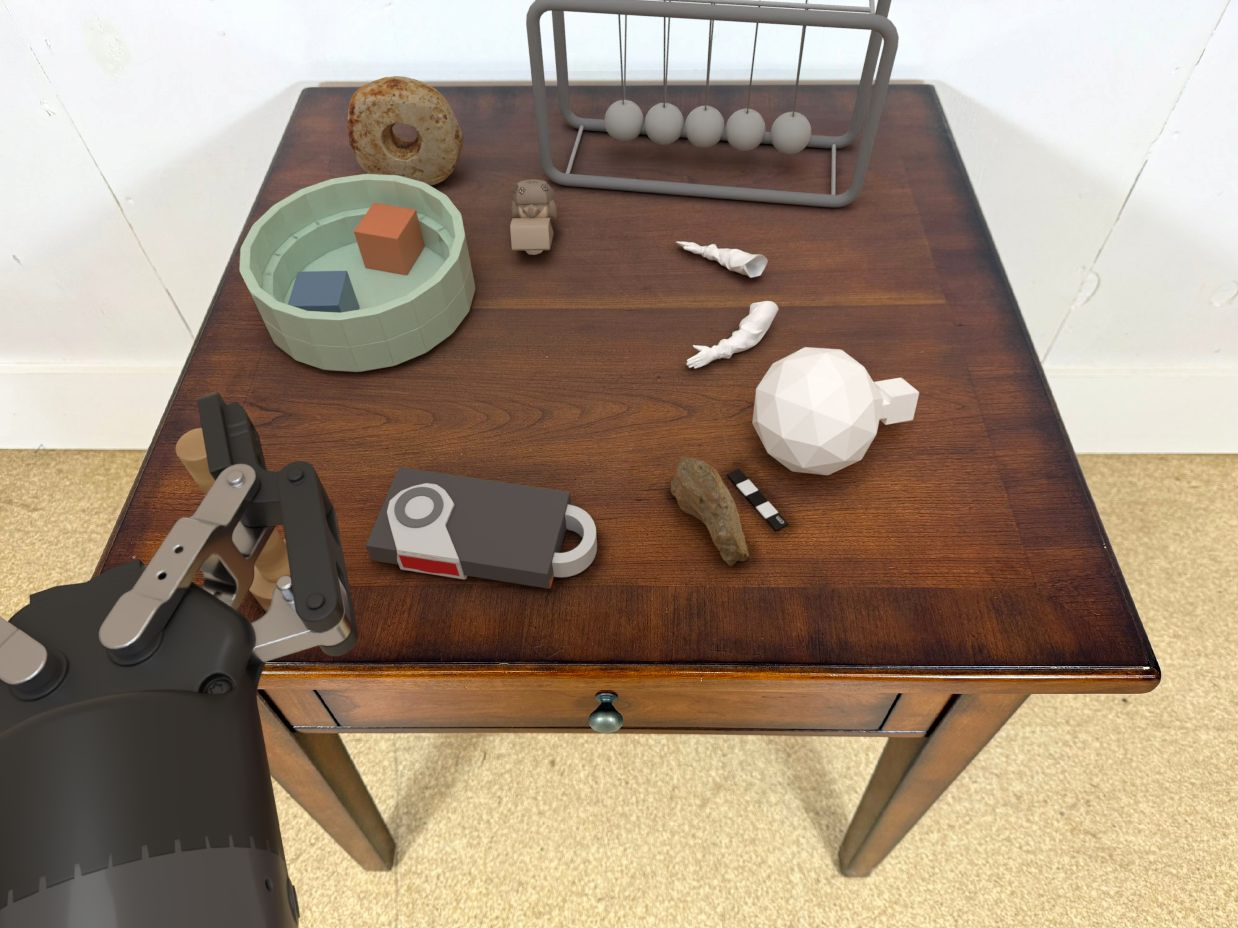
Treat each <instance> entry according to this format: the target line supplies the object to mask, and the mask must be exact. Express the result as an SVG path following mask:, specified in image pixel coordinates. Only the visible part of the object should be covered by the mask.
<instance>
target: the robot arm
mask: <svg viewBox="0 0 1238 928" xmlns="http://www.w3.org/2000/svg"><path fill="white" fill-rule="evenodd" d="M196 403H197V410H198V414H199V415H198V416H199V421H200V426H201V427H200V428H202V433H203V438H204V444H205V450H206V456H207V461H208V467H209V472H210V474H211V475H212V477H213V478H214V480H215V483H214V484H213V486H212V487H211V489H210V490H209V492H208V493H207V495H205V496H204V498H203V499H202V501H201V503H200V504H199V505H198V507H197V509H196V511H195V512H194V514H193V515H191V516H189V517H187V516H183V517H181V518H179V519H178V520H177V521H176V522H175V523H174V525H173V526H172V528H171V529H170V531H169V532H168V533H167V535H166V537H165V538H164V540H163V542H162V543H161V545H160V546H159V547H158V549H157V550H156V552H155V554H154V555H153V557H152V558H151V559H150V561H149V563H148V564H145V563H144V562H143V561H142V560H141V558H137V559H135V560H131V561H128V562H125V563H122V564H119V565H116V566H113V567H111V568H109V569H108V570H106V571H104V572H102V573H100V574H98V575H97V576H95V577H93V578H90V579H89V580H87V581H84V582H78V583H69V584H61V585H55V586H52V587H49V588H46V589H43V590H40V591H37V592H34V593H31V594H29V603H27V604H26V605H25V606H23V607H21V608H20V609H19V610H17V611H16V612H15V613H14V614H13V615H12V616H11V617H10V618H9V619H8V620H6V618H4V617H2V616H1V615H0V928H299V927H300V925H299V924H300V919H301V913H300V904H299V899H298V895H297V889H296V886H295V885H294V884H293V882H292V880H291V878H290V875H289V871H288V866H287V861H286V853H285V849H284V844H283V837H282V832H281V827H280V820H279V814H278V809H277V803H276V798H275V792H274V787H273V782H272V776H271V770H270V764H269V759H268V752H267V747H266V741H265V736H264V731H263V724H262V720H261V715H260V710H259V705H258V689H259V684H260V680H261V677H262V675H263V672H264V669H265V667H266V663H267V662H269V661H273V660H275V659H276V660H277V659H279V658H282V657H285V656H289V655H292V654H295V653H299V652H302V651H305V650H308V649H311V648H314V647H319V648H320V650H321V651H322V652H323V653H324V654H326V655H327V656H329V657H340V656H344V655H345V654H348V653H349V652H350V651H352V649H353V648H354V647H356V644H357V643H358V640H359V630H358V624H357V619H356V613H355V609H354V603H353V597H352V593H351V587H350V581H349V576H348V571H347V566H346V561H345V555H344V550H343V543H342V538H341V532H340V527H339V523H338V518H337V511H336V508H335V507H334V505H333V502H332V501H331V499H330V497H329V495H328V493H327V491H326V488H325V487H324V484H323V483H322V481H321V479H320V477H319V475H318V473H317V471H316V469H315V467H314V465H312V464H311V463H310V462H307V461H304V460H297V461H292V462H290V463H288V464H286V465H285V466H283V467H282V468H281V469H280V470H275V471H274V470H273V471H271V470H268V468H267V464H266V459H265V456H264V451H263V447H262V442H261V437H260V434H259V432H258V431H257V429H256V427H255V425H254V423H253V422H252V420H251V418H250V416H249V415H248V413H247V411H246V409H245V408H244V406H242V405H241V404H240V403H239V402H238V401H234V402H231V403H228V404H227V403H226V401H225V400H224V398H223V397H222V395H221V393H220V392H219V391H217V392H214V393H211V394H210V393H209V394H207V395H204V396H203V395H202V396H200V397H197V398H196ZM277 526H283V527H282V528H283V534H284V539H285V541H286V548H287V555H288V562H289V569H290V576H289V575H284V576H282V577H280V578H279V579H278V580H277V582H276V587H275V589H274V591H273V593H272V602H271V606H270V608H269V610H268V611H267V613H266V612H265V613H264V615H262V616H261V617H260V618H258V619H256V620H254V621H252V622H251V621H250V620H249V619H248V618H247V616H246V615H244V614H243V613H242V612H240V611H238V610H239V608H240V606H241V605H242V603H243V602H244V600H245V598H246V596H247V594H248V593H249V592H250V590H249V589H250V587H251V585H252V583H253V580H254V566H255V562H256V560H257V558H258V557H259V555H260V553H261V551H262V550H263V548H264V546H265V544H266V543H267V541H268V539H269V538H270V536H271V534H272V532H273V531H274V529H275V527H276V528H277ZM199 572H201V573H202V575H203V583H202V586H200V585H198V584H197V583H195V582H194V579H195V578H196V577H197V575H198V573H199Z"/></svg>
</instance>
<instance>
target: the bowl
mask: <svg viewBox="0 0 1238 928" xmlns="http://www.w3.org/2000/svg"><path fill="white" fill-rule="evenodd" d="M373 203H379V204H385V205H391V206H397V207H403V208H409V209H415V210H416V212H417V216H418V220H419V224H420V228H421V232H422V236H423V240H424V244H425V247H424V249H423V250H422V252H421V254H420V255H419V257H418V259H417V260H416V262H415V264H414V265H413V267H412V268H411V270H410V272H409V273H408V275H402V274H396V273H391V272H385V271H380V270H374V269H369V268H365V265H364V262H363V259H362V256H361V253H360V250H359V247H358V244H357V240H356V237H355V234H354V230H355V229H356V227H357V226H358V224H359V223H360V221H361V220H362V218H363V217H364V216H365V214H366V213H367V211H368V210H369V208H370V207H371V206H372V204H373ZM472 267H473V266H472V261H471V257H470V251H469V247H468V242H467V237H466V232H465V226H464V221H463V215H462V213H461V212H460V210H459V209H458V208H457V207H456V205H454V203H453V202H452V200H451V199H450V198H449V196H448V195H446V194H445V193H443V192H442V191H440V190H438V189H436V188H435V187H433V186H432V185H431V186H430V185H428V184H426V183H424V182H421V181H417V180H413V179H409V178H406V177H402V176H398V175H379V174H368V173H362V174H354V175H349V176H342V177H341V176H340V177H334V178H330V179H328V180H324V181H321V182H318V183H315V184H312V185H309V186H306V187H303V188H301V189H299V190H297V191H295V192H293V193H292V194H290V195H288V196H287V197H285V198H284V199H281V200H279V201H278V202H276V203H274V204H273V205H272V206H271V207H270V208H268V210H267V211H265V213H264V214H263V215H262V216H260V217H259V218H258V219H257V220H256V221H255V222H254V223H253V224H252V225H251V227H250V229H249V231H248V232H247V235H246V237H245V239H244V241H243V242H242V245H241V246H240V250H239V269H238V270H239V273H240V276H241V277H242V280H243V281H244V283H245V286H246V288H247V290H248V292H249V294H250V296H251V298H252V301H253V303H254V305H255V306H256V309H257V311H258V312H259V315H260V317H261V319H262V321H263V324H264V325H265V328H266V330H267V332H268V334H269V336H270V337H271V340H272V342H273V344H274V345H276V346H277V347H278V348H280V349H281V350H282V351H283V352H285V353H286V354H287V355H288V356H289V357H291V358H292V359H293V360H295V361H297V362H300V363H303V364H305V365H309V366H311V367H313V368H314V367H315V368H317V369H319V370H322V371H323V370H324V371H335V372H351V373H352V372H353V373H359V372H360V373H361V372H366V371H373V370H378V369H384V368H389V367H394V366H397V365H398V366H399V365H400V364H403V363H405V362H408V361H410V360H412V359H415V358H417V357H419V356H422V355H424V354H426V353H428V352H429V351H431V350H432V349H434V347H436V346H438V345H439V344H440V343H442V342H443V341H445V340H446V339H447V338H449V337H450V336H451V335H453V334H454V332H455V331H456V330H457V329H458V327H459V326H460V324H461V323H462V322H463V321H464V319H465V317H466V316H467V315H468V314H469V313H470V310H471V306H472V302H473V299H474V296H475V291H476V284H475V278H474V273H473V272H474V271H473V268H472ZM306 271H347V272H348V275H349V278H350V281H351V284H352V286H353V289H354V292H355V295H356V298H357V301H358V304H359V307H360V308H359V310H354V311H347V312H341V313H338V312H319V311H306V310H303V309H300V308H297V307H294V306H291V305H288V302H289V299H290V295H291V292H292V289H293V286H294V282H295V279H296V276H297V272H306Z"/></svg>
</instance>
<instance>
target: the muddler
mask: <svg viewBox="0 0 1238 928" xmlns="http://www.w3.org/2000/svg"><path fill="white" fill-rule="evenodd" d="M175 455H176V456H177V457H178V459H179V460H180V462H181V463H182V465H183V466H184V467H185V469H186V470H187V471H188V473H189V474H190V476H191V477H192V478H193V480H194V481H195V483H196V485H197V486H198V487H199V489H200V490H201V492H202V493H203V494H204V495H205V496H206V495H207V493H208V492H209V490H210V489H211V487H212V486H213V484H214V483H215V480H214V478H213V477H212V475H211V474H210V472H209V467H208V461H207V456H206V450H205V444H204V438H203V433H202V427H198V428H197V427H196V428H193V429H191V430H188V431H187V432H185V433H184V434H183V435H182V436H181V437H180V438H179V439H178V440H177V442H176V444H175ZM284 575H289V576H290V569H289V562H288V555H287V548H286V541H285V538H283V537H282V535H281V534H280V532H279V530H278V529H277V526H276V527H275V529H274V531H273V532H272V534H271V536H270V538H269V539H268V541H267V543H266V544H265V546H264V548H263V550H262V551H261V553H260V555H259V557H258V558H257V560H256V562H255V566H254V580H253V583H252V585H251V587H250V589H249V592H250V593H251V594H252V596H253V597H254V598H255V601H256V602H257V603H258V604H259V605H260V606H261V608H262V609H263V611H264V612H265V614H266V613H267V611H268V610H269V608H270V606H271V602H272V593H273V591H274V589H275V587H276V582H277V580H278V579H279V578H280V577H282V576H284Z"/></svg>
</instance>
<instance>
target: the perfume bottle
mask: <svg viewBox="0 0 1238 928" xmlns="http://www.w3.org/2000/svg"><path fill="white" fill-rule="evenodd" d="M754 395H755V396H754V404H753V413H752V422H751V423H752V425H753V428H754V430H755V431H756V433H757V435H758V437H759V439H760V441H761V443H762V445H763V446H764V449H765V451H766V453H767V454H768V455H770V456H771V457H772V458H773V459H775V460H776V461H777V462H779V463H780V464H781V465H783V467H785V468H787V469H788V470H789V471H791V473H792V472H793V473H794V472H795V473H803V474H812V475H821V476H829V475H832V474H834V473H836V472H839V471H841V470H843V469H845V468H847V467H849V466H851V465H853V464H855V463H858V462H860V461H862V459H863V458H864V457H865V454H866V453H867V451H868V450H869V448H870V447H871V445H872V443H873V441H874V439H875V438H876V436H877V433H878V428H879V424H880V422H882V424H884V425H885V426H886V425H887V426H888V425H892V424H898V423H903V422H904V423H905V422H909V421H914V419H915V413H916V408H917V404H918V401H919V396H920V391H918V390H917V389H916V388H915V387H914V386H912V385H911V384H910V383H909V382H907V380H905V379H904V378H903V377H895V378H890V379H883V380H878V381H874V380H873V378H872V377H871V375H870V373H869V371H868V370H867V369H866V368H865V366H864V365H863V364H861V363H860V362H858V361H857V360H856V359H855V358H854V357H853V356H850V355H849V354H848V353H847V352H846V351H844V350H843V349H840V348H837V349H836V348H826V347H825V348H824V347H809V346H808V347H807V346H804V347H802V348H800V349H799V350H796V351H794V352H792V353H790V354H789V355H786V356H785V357H783V358H780V359H779V360H777V361H775V362H773V363H772V364H771V365H770V367H769V369H768V370H767V372H766V373H765V374H764V376H763V377H762V379H761V380H760V382H759V383H758V385H757V386H756V388H755V394H754Z"/></svg>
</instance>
